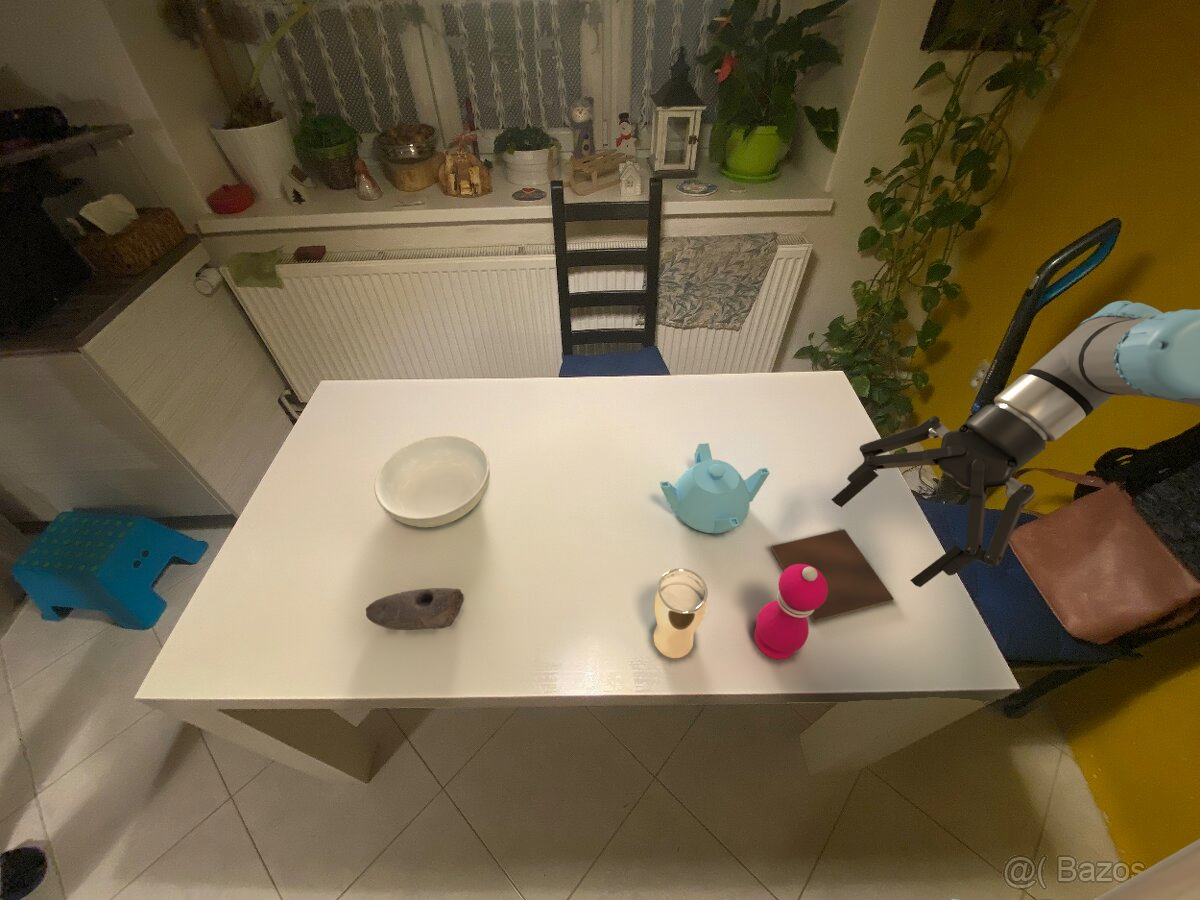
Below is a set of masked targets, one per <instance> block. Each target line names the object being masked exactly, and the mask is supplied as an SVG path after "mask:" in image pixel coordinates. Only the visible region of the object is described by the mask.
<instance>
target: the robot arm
mask: <svg viewBox="0 0 1200 900" xmlns="http://www.w3.org/2000/svg"><path fill="white" fill-rule="evenodd" d="M1114 396H1134V397H1146V398H1153V399H1159V400H1160V399H1161V400H1164V401H1169V402H1175V403H1180V404H1186V405H1191V406H1196V407H1200V309H1196V308H1185V309H1184V308H1183V309H1179V310H1176V311H1172V310H1171V311H1170V310H1169V311H1166V312H1163V311H1160V310H1159V309H1158V308H1155V307H1153V306H1152V305H1151V306H1150V305H1148V304H1146V303H1142V302H1132V301H1130V300H1117V301H1113V302H1111V303H1108V304H1107V305H1105V306H1104V307H1102V308H1101V309H1100V310H1098V311H1097V312H1096V313H1095V314H1093V315H1091V316H1090V317H1089V318H1086V319H1084V320H1083V321H1082V322H1080V323H1079V324H1078V326H1077V327H1075V329H1074V330H1073V331H1072V332H1071V333H1070V334H1068V335H1067V336H1066V337H1065V338H1064V339H1063V340H1062V341H1060V342H1059V343H1058V344H1057V345H1055V347H1054V348H1052V349H1051V350H1050V351H1049V352H1047V353H1046V354H1045V355H1044V356H1043V357H1041V359H1039V360H1038V361H1037V362H1035V364H1034V365H1032V366H1031V367H1030V368H1029V369H1028V370H1026V372H1024V373H1022V374H1021V375H1020V376H1019V377H1018V378H1017V379H1016V380H1014V381H1013V382H1012V383H1011V384H1010V385H1009V386H1007V387H1006V388H1005V389H1003V390H1002V391H1001V392H1000V393H999V394H997V395H996V396H995V397H994V398H993V402H994V404H992V403H991V404H990V403H989V404H985V406H983V407H982V408H981V409H979V410H978V411H977V412H976V413H975V414H974V415H972V416H971V417H970V418H969V419H968V420H966V421H965V422H964V423H963V424H962V425H961V426H960V427H959V428H957V429H954V430H951V431H950V430H949V428H947V427H946V426H945V425H944V424H943V422H942V421H941V420H940V417H938V416H935V415H934V416H930V417H929V418H927V419H926V420H925V421H924V422H922V423H920V424H919V425H917V426H914V427H911V428H907V429H905V430H902V431H899V432H896V433H893V434H890V435H887V436H884V437H881V438H878V439H875V440H872V441H869V442H867V443H863V444H861V445H860V447H859V451H860V453H861V455H862V457H863V462H862V463H861V464H860V465H859V466H857V467H856V469H854V470H853V471H852V472H851V473H850V474H849V475H848V476H847V478H846V480H847V481H848V482H849V483H848V484H847V485H846V486H845V487H844V488H842V489H841V490H840V491H839V492H838V493H836V495H835V496H833V498H831V501H832V502H833V503H834V504H835V505H837V506H838V507H840V508H843V507H844V506H845V505H846V504H848V503H849V502H850V501H851V500H853V498H854V497H856V496H857V495H859V493H860V492H862V490H864V489H865V488H866V487H867V486H869V484H871V483H872V482H873V481H875V479H877V478H878V477H879V476H880V475H879V474H878V472H877V471H878V470H886V469H897V468H898V469H899V468H908V467H918V466H931V467H932V466H934V467H935V466H938V467H939V469H940V470H941V471H942V473H944V474H945V475H946V476H948V477H950V478H951V479H954V480H955V482H956V483H957V485H959V486H960V487H961V488H962V489H965V490H966V489H967V490H969V502H968V503H969V504H968V516H967V523H966V524H967V525H966V535H965V536H966V537H965V544H964V545H965V547H964V548H963V550H962V548H960V547H959V546H958V545H957V544H956V545H954V546H952V548H951V549H949V550H948V551H947V552H946V553H944V554H942V556H940V557H939V558H937V559H936V560H934V561H933V562H932V563H931V564H929V565H928V566H927V567H925V568H924V569H922V571H920V572H919V573H918V574H916V575H915V576H914V577H913V578H911V579H910V582H911V583H912V584H913V585H914V586H916V587H918V588H922V587H923V586H924V585H926V584H927V583H928V582H929V581H931V580H932V579H933V578H935V577H936V576H938V575H939V574H940V573H942V572H944V573H945V574H946V576H948V577H951V576H954V575H955V574H957V573H959V572H960V571H961V570H962V569H964V568H966V567H967V566H968V565H969V564H970V563H972V562H975V561H977V562H980V563H983V564H985V565H988V566H989V567H991V568H997V567H998V566H1000V565H1001V561H1002V558H1003V557H1004V554H1005V552H1006V550H1007V547H1008V544H1009V542H1010V540H1011V537H1012V535H1013V532H1014V530H1015V528H1016V526H1017V523H1018V520H1019V518H1020V516H1021V513H1022V511H1023V509H1024V508H1025V507H1026V506H1027V505H1028V504H1029V503H1031V501H1032V500H1033V499H1034V498H1035V497H1036V492H1035V489H1034V486H1033V485H1031V484H1029V483H1028V484H1027V483H1023V482H1021V481H1019V480H1018V479H1016V478H1015V477H1014V475H1015V474H1016V472H1017V471H1018V470H1020V469H1021V468H1023V467H1024V466H1025V465H1026V464H1027V463H1029V462H1030V461H1031V460H1032V459H1034V458H1035V457H1037V456H1038V455H1039V454H1040V453H1042V452H1043V451H1044V450H1046V447H1047V443H1046V442H1051V443H1053V442H1055V441H1057V440H1059V438H1061V437H1062V436H1063V435H1065V434H1066V433H1067V432H1069V431H1070V430H1071V429H1073V428H1074V427H1075V426H1076V425H1078V424H1079V423H1080V422H1081V421H1083V420H1084V419H1085V418H1087V417H1089V415H1090V414H1092V413H1093V412H1094V411H1096V410H1097V409H1098V408H1100V407H1101V406H1102V405H1103V404H1105V403H1106V402H1107V401H1109V400H1110V399H1111V398H1112V397H1114ZM938 438H942V439H941V445H940V447H935V448H928V449H924V450H920V451H919V450H918V451H909V452H899V453H890V454H889V452H892V451H895V450H897V449H902V448H905V447H907V446H911V445H914V444H917V443H920V442H924V441H926V440H927V439H933V440H934V439H938ZM887 453H888V454H887ZM1004 486H1006V487H1007V490H1006V497H1007V498H1008V500H1007V502H1006V503H1005V506H1004V508H1003V510H1002V513H1001V515H1000V518H999V520H998V522H997V525H996V527H995V530H994V532H993V533H992V534H993V535H992V536H991V539H990V542H989V544H988V547H987V549H986V550H983V549H982V548H983V547H982V546H983V537H984V536H983V534H984V524H985V514H986V503H987V499H988V498H987V497H988V489H989V488H996V487H997V488H998V487H1004ZM950 900H961V899H959V898H952V899H950ZM1038 900H1053V899H1051V898H1038ZM1093 900H1200V838H1198V839H1196V840H1195V841H1193V842H1191V843H1190V844H1188V845H1186V846H1185V847H1183V848H1181V849H1179V850H1177V851H1175V852H1174V853H1172V854H1171V855H1168V856H1167V857H1166V858H1163V859H1162V860H1160V861H1158V862H1157V863H1155V864H1154V865H1151V866H1150V867H1148V868H1147V869H1145V870H1143V871H1141V872H1139V873H1138V874H1136V875H1135V876H1133V877H1131V878H1129V879H1127V880H1125V881H1124V882H1121V883H1120V884H1119V885H1117V886H1115V887H1113V888H1112V889H1109V890H1108V891H1107V892H1105V893H1102V894H1101V895H1100V896H1098V897H1096V898H1094V899H1093Z"/></svg>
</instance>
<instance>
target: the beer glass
mask: <svg viewBox="0 0 1200 900" xmlns="http://www.w3.org/2000/svg"><path fill="white" fill-rule="evenodd" d="M708 594H709V592H708V587H707V584H706V582H705V580H704V578H702V576H701V575H699V574H698V573H697V572H695V571H694V570H692V569H691V570H690V569H688V568H680V567H679V568H673V569H670V570H668V571H667V572H665V573H664V574H663V575H662V576H661V578H660V580H659V581H658V585H657V588H656V592H655V597H654V607H653V608H654V616H655V621H656V624H657V625H656V626H655V628H654V631H653V643H654V646H655V648H656V649H657V650H658V651H659V653H660V654H662V655H663V656H665V657H667V658H670V659H679V658H682V657H685V656H687V655H688V654H690V651H692V648H693V646H694V639H695V638H694V633H695V632H696V631H697V630H698V628H699V627H700V626H701V623H702V622H703V620H704V617H705V614H706V608H707V603H708V602H707V600H708Z"/></svg>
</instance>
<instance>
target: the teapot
mask: <svg viewBox="0 0 1200 900" xmlns="http://www.w3.org/2000/svg"><path fill="white" fill-rule="evenodd" d="M693 457H694V465H692V466H691V467H689V468H688V469H687V470H685V471H684V472H683V473H682V474H681V476H680V477H679V478H678V479H677V482H676V483H675V485H673V484H671V483H670V481H660V482H659V485H660V489H661V491H662V493H663V495H664V497H665V499H666V500H667V502H668V504H669V507H670V509H672V511H673V512H676V514H677V516H678V517H679V518H680V519H681V521H682V522H683V523H685V525H687V526H689V527H690V528H692V529H694V530H696V531H700V532H703V533H708V534H723V533H728V532H731V531H732V530H734V529H737V528H739V527H740V526H741V525H742V524H743V522H744V521H745V520H746V519H747V517H748V514H749V511H750V507H751V506H750V503H751V502H753V501H754V499H755V497H756V496H757V494H758V493H759V492H760V490H761V488H762V486H763V485H764V483H765V482H766V480H767V478H768V477H769V475H770V471H769V468H768V467H763V468H762V467H761V468H758V469H757V470H756V471H755V472H754V473H753V474H751V475H750V476H748V477H747V478H746V479H744V478H743V477H742V475H741V474H740V472H739V471H738V469H736V468H735V467H734V466H733V465H732V464H730V463H728V462H726V461H723V460H720V459H713V456H712V452H711V447H710V443H709V442H707V443H698V444H697V447H696V449H695V452H694V455H693Z"/></svg>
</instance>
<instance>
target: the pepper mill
mask: <svg viewBox="0 0 1200 900" xmlns="http://www.w3.org/2000/svg"><path fill="white" fill-rule="evenodd" d="M777 586H778V590H777V592H776V600H772V601H770V602H768V603H767V604H765V605H763V607H762V608H761V609H760V610H759V613H758V614H757V617H756V621H755V622H756V626H755V630H754V641H755V644H756V646H757V648H758V649H759V651H761V652H762V653H763V654H764V655H766V656H767V657H769V658H771V659H774V660H780V661H781V660H786V659H789V658H790V657H793V655H794V654H795V652H796V651H798V650H800V649H801V648H802V647H803V646H804V645H805V644H806V642H807V639H808V637H809V628H810V627H809V620H808V617H810V616H809V615H811V614H812V613H813V612H814V610H815V609H817V608H819V607H820V606H821V605H822V604H823V603H824V602H825V600H826V597H827V594H828V586H827V582H826V580H825V578H824V576H823V575H822V574H821V573H820V572H819V571H818V570H817V569H816V568H814V567H812V566H809V565H806V564H795V565H792V566H790V567H788V568H786V569H785V570H784V571H783V572H782V573H781V575H780V577H779V578H778V585H777Z"/></svg>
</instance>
